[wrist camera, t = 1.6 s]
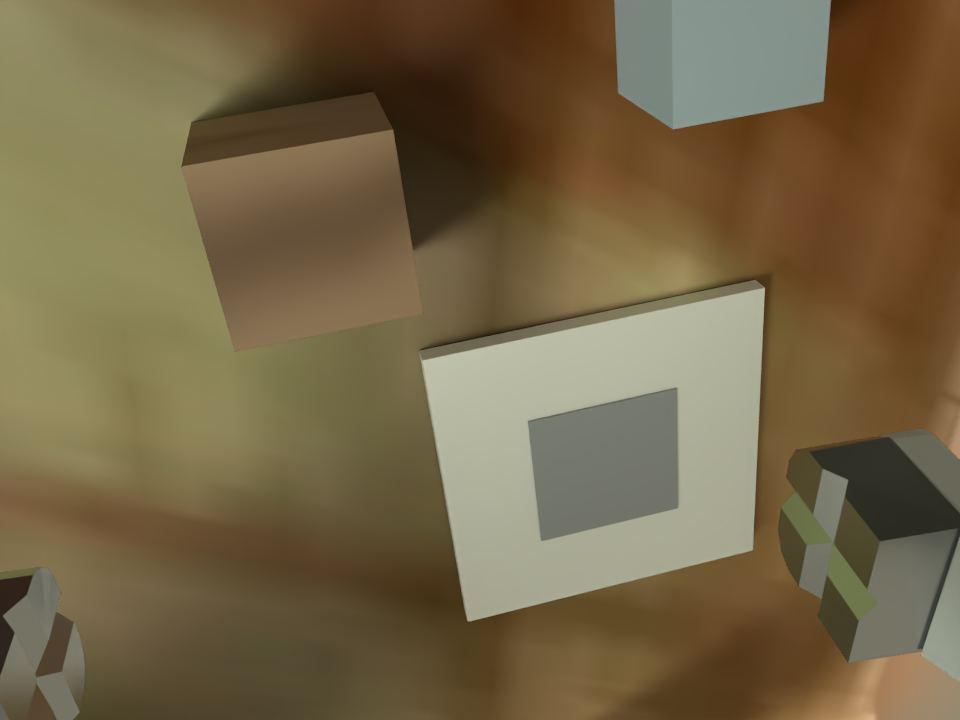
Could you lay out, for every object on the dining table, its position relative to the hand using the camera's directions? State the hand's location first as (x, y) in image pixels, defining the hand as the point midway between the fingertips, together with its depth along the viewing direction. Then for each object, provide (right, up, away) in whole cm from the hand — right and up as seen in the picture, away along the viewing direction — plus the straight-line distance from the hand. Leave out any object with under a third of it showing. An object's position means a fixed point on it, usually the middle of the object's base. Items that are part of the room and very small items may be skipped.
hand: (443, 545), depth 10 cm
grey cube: (+7, +14, +21) cm, 26 cm away
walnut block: (-6, +8, +21) cm, 24 cm away
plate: (+6, -2, +30) cm, 30 cm away
